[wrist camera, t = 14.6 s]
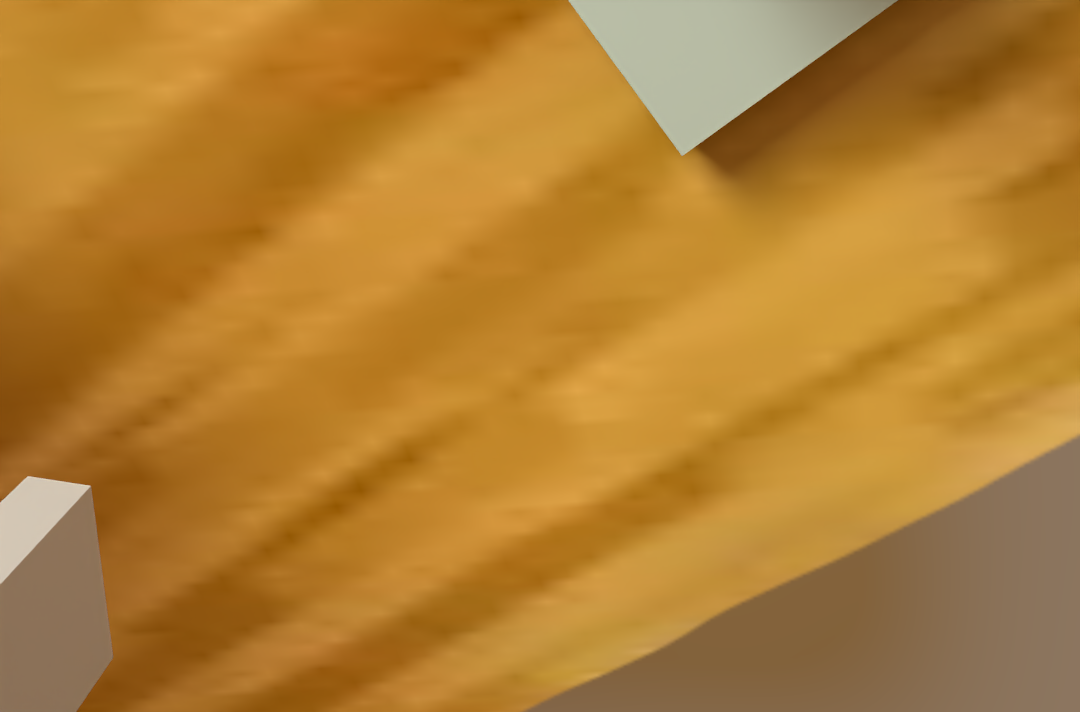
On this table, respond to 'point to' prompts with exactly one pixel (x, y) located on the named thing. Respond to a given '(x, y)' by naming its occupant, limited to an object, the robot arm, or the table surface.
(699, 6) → the seat board
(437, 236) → the table surface
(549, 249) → the table surface
